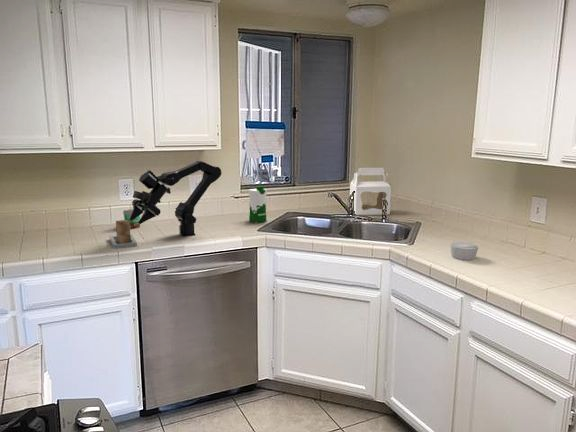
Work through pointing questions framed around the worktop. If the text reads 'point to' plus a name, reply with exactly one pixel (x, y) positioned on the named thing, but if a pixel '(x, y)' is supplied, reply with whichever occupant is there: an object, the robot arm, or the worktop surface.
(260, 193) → the milk carton
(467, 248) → the ramekin
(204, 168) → the robot arm
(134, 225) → the food container
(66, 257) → the worktop surface
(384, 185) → the gable box
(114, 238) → the grey divided frame
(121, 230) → the walnut block
